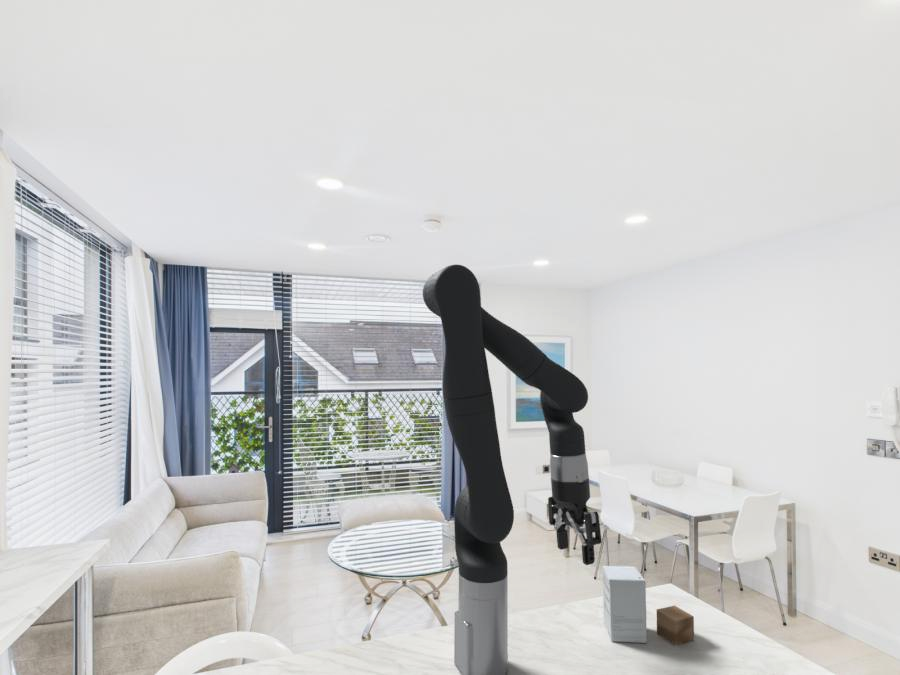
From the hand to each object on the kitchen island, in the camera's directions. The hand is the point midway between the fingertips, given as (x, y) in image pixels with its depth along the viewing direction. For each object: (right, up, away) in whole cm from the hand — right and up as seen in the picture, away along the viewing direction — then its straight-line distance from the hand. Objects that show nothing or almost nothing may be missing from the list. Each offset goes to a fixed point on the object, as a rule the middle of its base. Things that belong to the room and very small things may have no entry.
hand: (575, 555), depth 100 cm
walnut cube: (+22, -19, +3) cm, 29 cm away
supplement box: (+11, -19, +5) cm, 22 cm away
